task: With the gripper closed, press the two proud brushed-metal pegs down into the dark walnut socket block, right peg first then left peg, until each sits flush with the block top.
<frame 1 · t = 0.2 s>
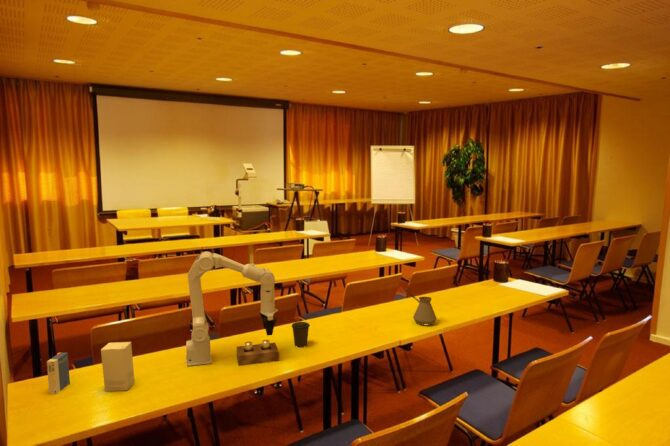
hand: (268, 331, 188), 10 cm above the table, fingers open, 7 cm apart
coffee pot: (417, 320, 232), on the table
peg right: (265, 345, 186), point 5 cm above the table, slide at 0.0 cm
skincare box: (119, 387, 161), on the table
peg left: (248, 347, 184), point 5 cm above the table, slide at 0.0 cm
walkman: (59, 389, 160), on the table
socket block: (257, 358, 185), on the table
coffee cup: (300, 345, 199), on the table
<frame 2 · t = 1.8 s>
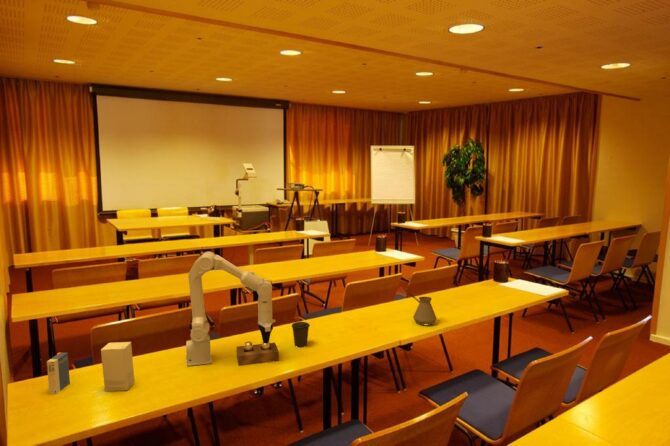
hand: (265, 342, 186), 6 cm above the table, fingers closed, pressing on peg right
peg right: (265, 347, 186), point 4 cm above the table, slide at 0.7 cm, touching gripper
everything else where it was.
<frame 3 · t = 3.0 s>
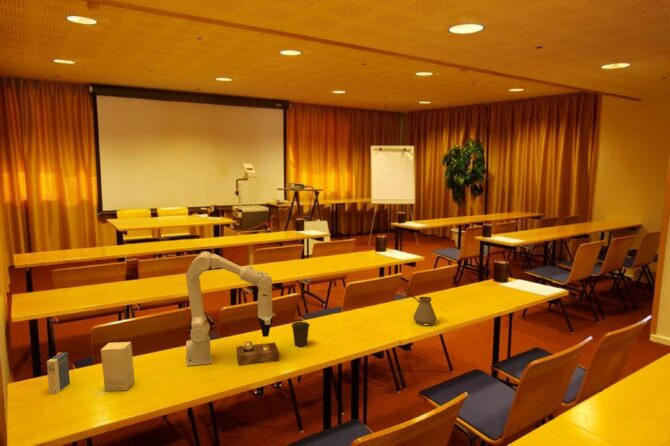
hand: (265, 336, 185), 9 cm above the table, fingers closed
peg right: (266, 352, 186), point 2 cm above the table, slide at 2.8 cm
everything else where it was.
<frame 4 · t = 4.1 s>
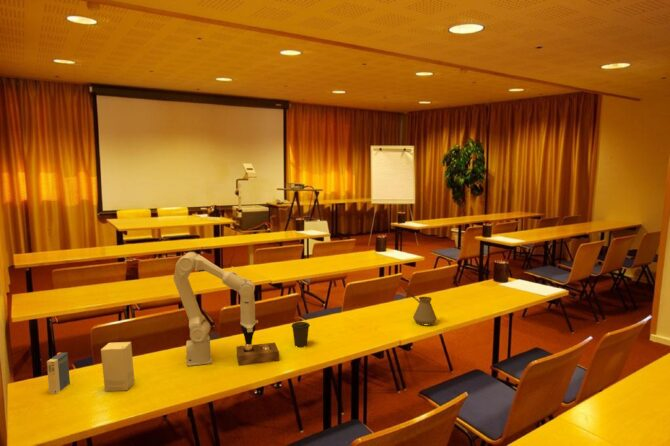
hand: (248, 343, 184), 7 cm above the table, fingers closed, pressing on peg left
peg left: (248, 348, 184), point 5 cm above the table, slide at 0.3 cm, touching gripper
everything else where it was.
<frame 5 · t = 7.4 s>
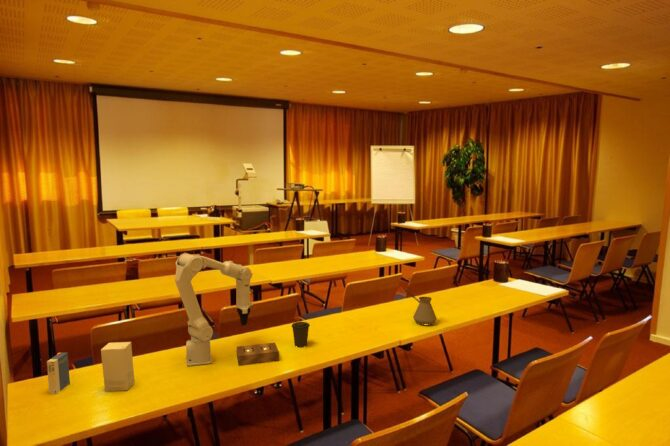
hand: (243, 324, 196), 10 cm above the table, fingers closed
peg left: (248, 354, 184), point 2 cm above the table, slide at 2.8 cm
everything else where it was.
at the end: peg right slide at 2.8 cm; peg left slide at 2.8 cm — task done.
